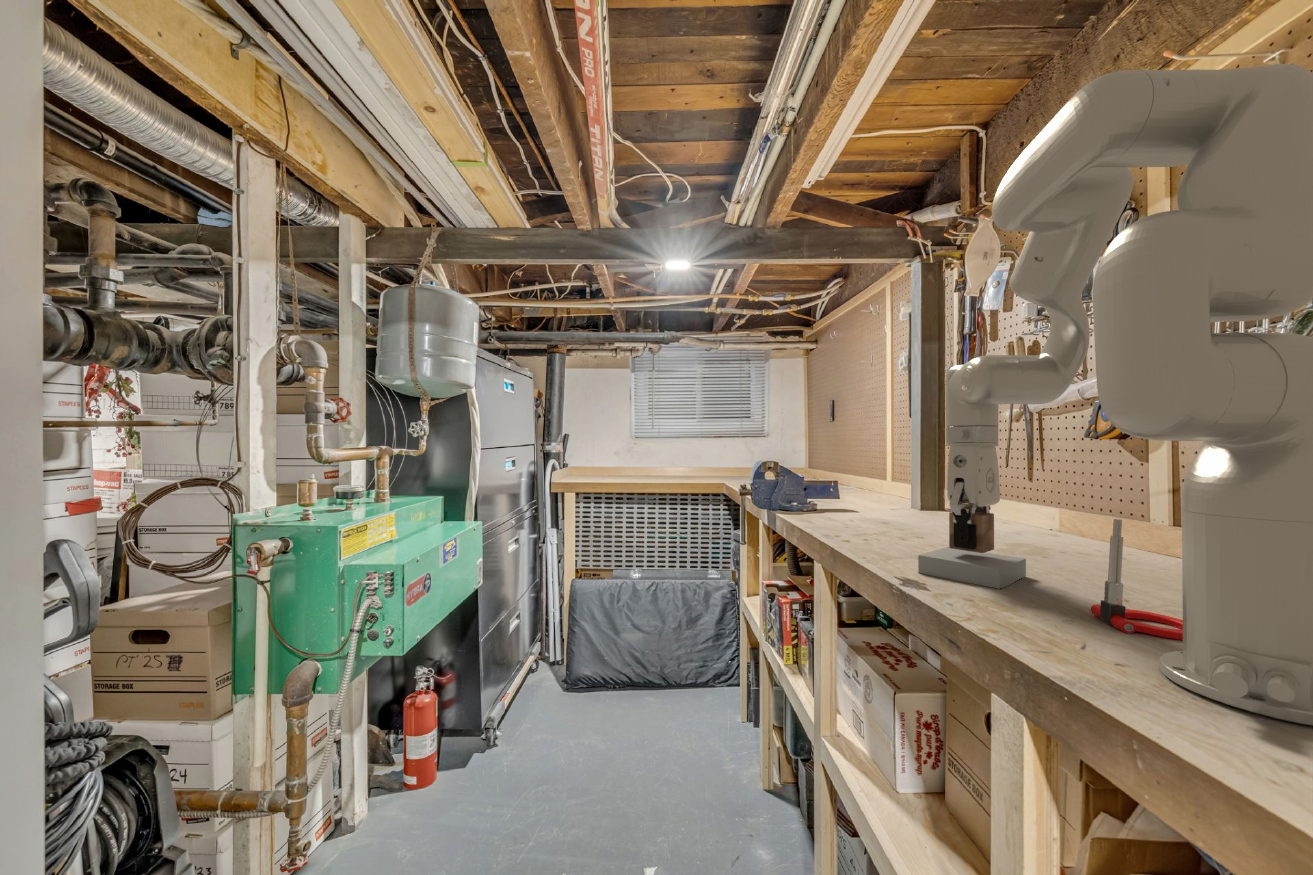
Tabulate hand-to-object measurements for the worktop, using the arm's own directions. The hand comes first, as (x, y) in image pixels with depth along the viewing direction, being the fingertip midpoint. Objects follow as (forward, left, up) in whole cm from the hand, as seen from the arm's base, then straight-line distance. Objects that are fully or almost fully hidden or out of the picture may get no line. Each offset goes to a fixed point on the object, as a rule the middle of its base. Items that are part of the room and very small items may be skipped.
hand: (971, 544), depth 85 cm
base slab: (0, 0, -5) cm, 5 cm away
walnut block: (0, 0, -1) cm, 1 cm away
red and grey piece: (-10, -23, -5) cm, 26 cm away
